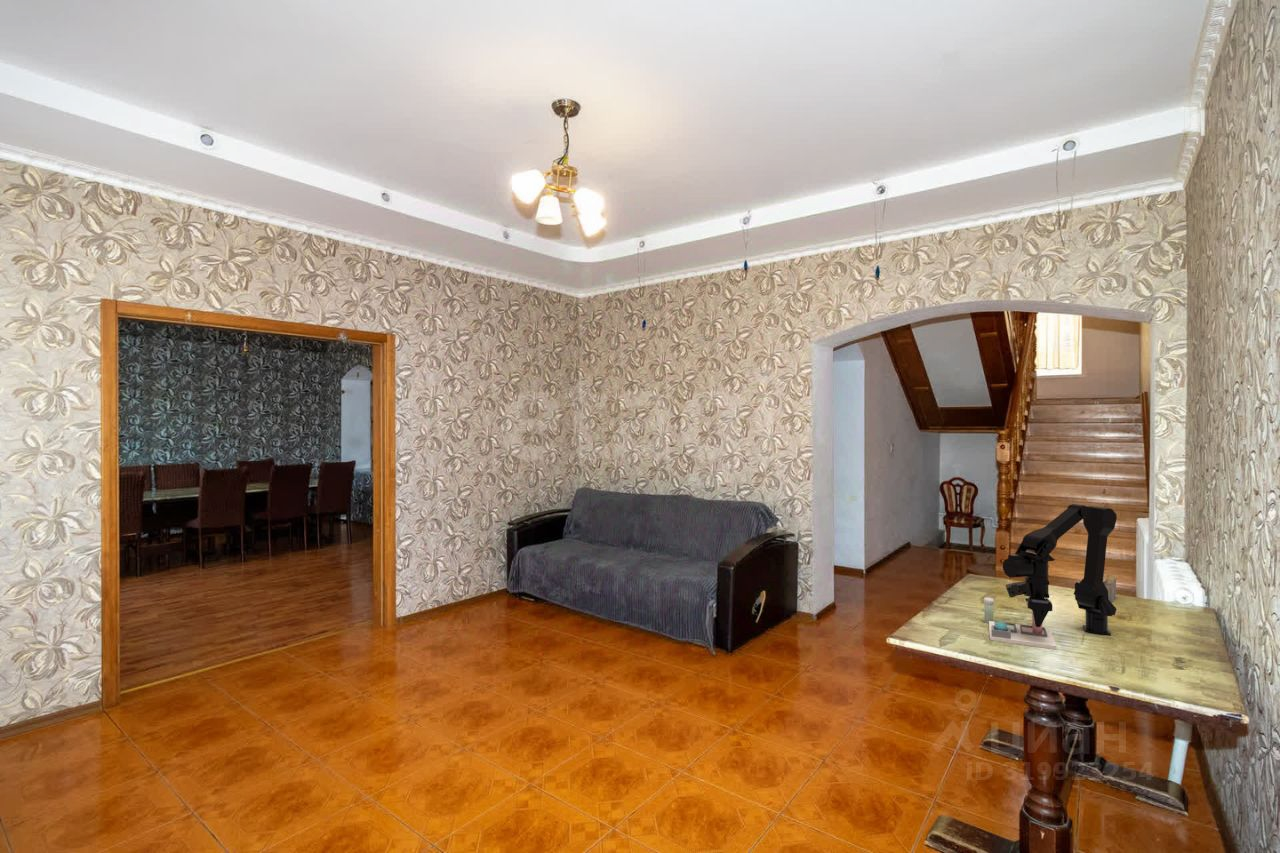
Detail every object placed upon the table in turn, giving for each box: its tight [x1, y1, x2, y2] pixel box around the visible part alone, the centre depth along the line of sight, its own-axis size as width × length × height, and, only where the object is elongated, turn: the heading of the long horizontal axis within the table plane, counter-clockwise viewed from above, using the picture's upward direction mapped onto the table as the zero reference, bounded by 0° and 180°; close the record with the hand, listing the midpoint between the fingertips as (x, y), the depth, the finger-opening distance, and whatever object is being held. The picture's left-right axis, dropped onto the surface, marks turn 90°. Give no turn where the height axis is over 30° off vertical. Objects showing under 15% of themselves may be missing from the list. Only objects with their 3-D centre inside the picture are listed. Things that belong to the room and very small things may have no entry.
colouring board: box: [988, 620, 1058, 650], centre depth 193 cm, size 17×17×3 cm
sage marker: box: [983, 596, 995, 624], centre depth 206 cm, size 3×3×8 cm
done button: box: [994, 621, 1007, 631], centre depth 190 cm, size 3×3×2 cm
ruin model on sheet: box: [1103, 571, 1117, 604], centre depth 232 cm, size 11×3×10 cm, turn 134°
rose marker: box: [1031, 610, 1043, 634], centre depth 192 cm, size 3×3×8 cm
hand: (1037, 625), depth 192 cm, fingers closed on rose marker, 3 cm apart
